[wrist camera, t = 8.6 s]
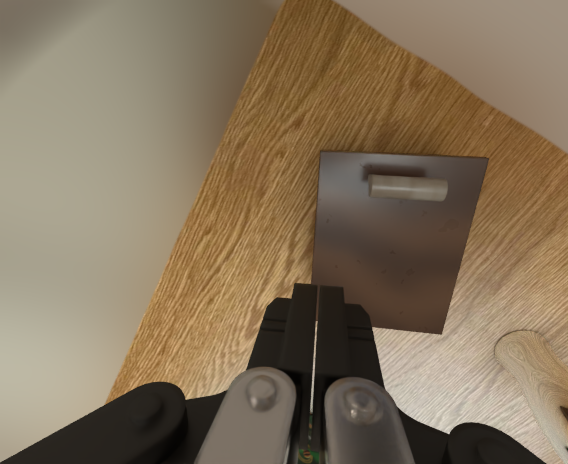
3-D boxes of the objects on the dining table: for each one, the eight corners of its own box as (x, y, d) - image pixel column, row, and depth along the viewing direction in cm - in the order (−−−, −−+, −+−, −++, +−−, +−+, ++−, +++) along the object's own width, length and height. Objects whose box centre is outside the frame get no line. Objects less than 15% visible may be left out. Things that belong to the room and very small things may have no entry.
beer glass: (478, 348, 40) (559, 473, 26) (527, 316, 37) (646, 435, 23) (513, 379, 40) (611, 516, 26) (564, 350, 38) (700, 484, 24)
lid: (320, 149, 25) (318, 156, 21) (485, 156, 23) (517, 165, 19) (308, 316, 31) (305, 346, 27) (439, 330, 29) (456, 364, 26)
